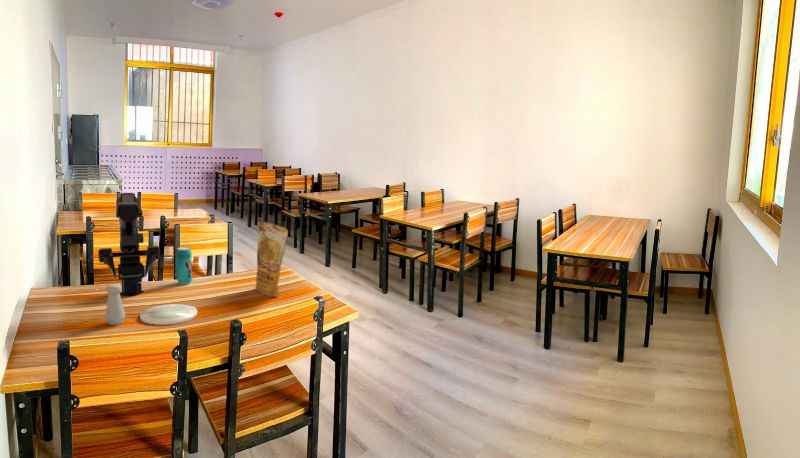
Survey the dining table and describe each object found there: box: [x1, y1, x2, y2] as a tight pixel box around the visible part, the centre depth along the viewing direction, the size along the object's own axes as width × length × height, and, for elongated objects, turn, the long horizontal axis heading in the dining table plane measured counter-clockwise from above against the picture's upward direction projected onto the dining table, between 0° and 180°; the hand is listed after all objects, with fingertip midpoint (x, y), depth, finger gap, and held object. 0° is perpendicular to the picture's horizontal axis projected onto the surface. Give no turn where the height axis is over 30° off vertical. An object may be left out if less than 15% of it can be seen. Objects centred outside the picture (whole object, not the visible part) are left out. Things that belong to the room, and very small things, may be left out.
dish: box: [139, 303, 198, 326], centre depth 181 cm, size 18×18×1 cm
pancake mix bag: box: [255, 221, 289, 298], centre depth 211 cm, size 7×19×28 cm, turn 44°
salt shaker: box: [104, 283, 126, 326], centre depth 171 cm, size 6×6×13 cm
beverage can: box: [176, 246, 193, 286], centre depth 218 cm, size 6×6×15 cm
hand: (130, 276), depth 178 cm, fingers open, 9 cm apart
